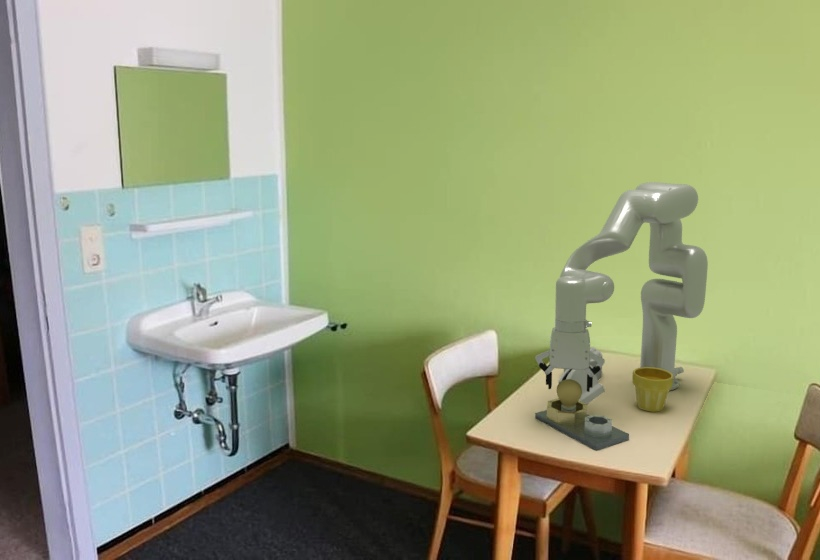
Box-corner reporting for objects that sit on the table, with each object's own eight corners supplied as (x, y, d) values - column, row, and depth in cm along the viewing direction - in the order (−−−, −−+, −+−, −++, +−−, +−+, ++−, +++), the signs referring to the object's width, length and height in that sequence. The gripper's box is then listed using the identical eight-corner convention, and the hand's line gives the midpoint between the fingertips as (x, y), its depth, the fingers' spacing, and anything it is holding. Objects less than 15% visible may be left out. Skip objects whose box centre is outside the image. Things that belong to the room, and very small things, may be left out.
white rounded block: (579, 409, 189) (569, 374, 190) (564, 411, 193) (554, 376, 193) (605, 391, 202) (595, 357, 202) (590, 392, 205) (581, 360, 205)
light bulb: (567, 423, 177) (568, 386, 175) (550, 414, 183) (551, 378, 181) (586, 418, 180) (587, 381, 178) (569, 409, 186) (570, 374, 184)
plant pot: (674, 404, 192) (677, 370, 190) (666, 417, 183) (668, 382, 181) (636, 397, 197) (638, 364, 195) (626, 409, 189) (628, 375, 187)
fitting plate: (566, 409, 190) (566, 393, 189) (628, 439, 171) (629, 422, 170) (535, 418, 184) (535, 402, 183) (596, 450, 166) (596, 433, 165)
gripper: (605, 322, 178) (603, 385, 182) (536, 319, 182) (536, 381, 186) (606, 331, 171) (603, 396, 174) (534, 328, 175) (533, 391, 179)
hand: (568, 388), depth 180 cm, fingers open, 9 cm apart
